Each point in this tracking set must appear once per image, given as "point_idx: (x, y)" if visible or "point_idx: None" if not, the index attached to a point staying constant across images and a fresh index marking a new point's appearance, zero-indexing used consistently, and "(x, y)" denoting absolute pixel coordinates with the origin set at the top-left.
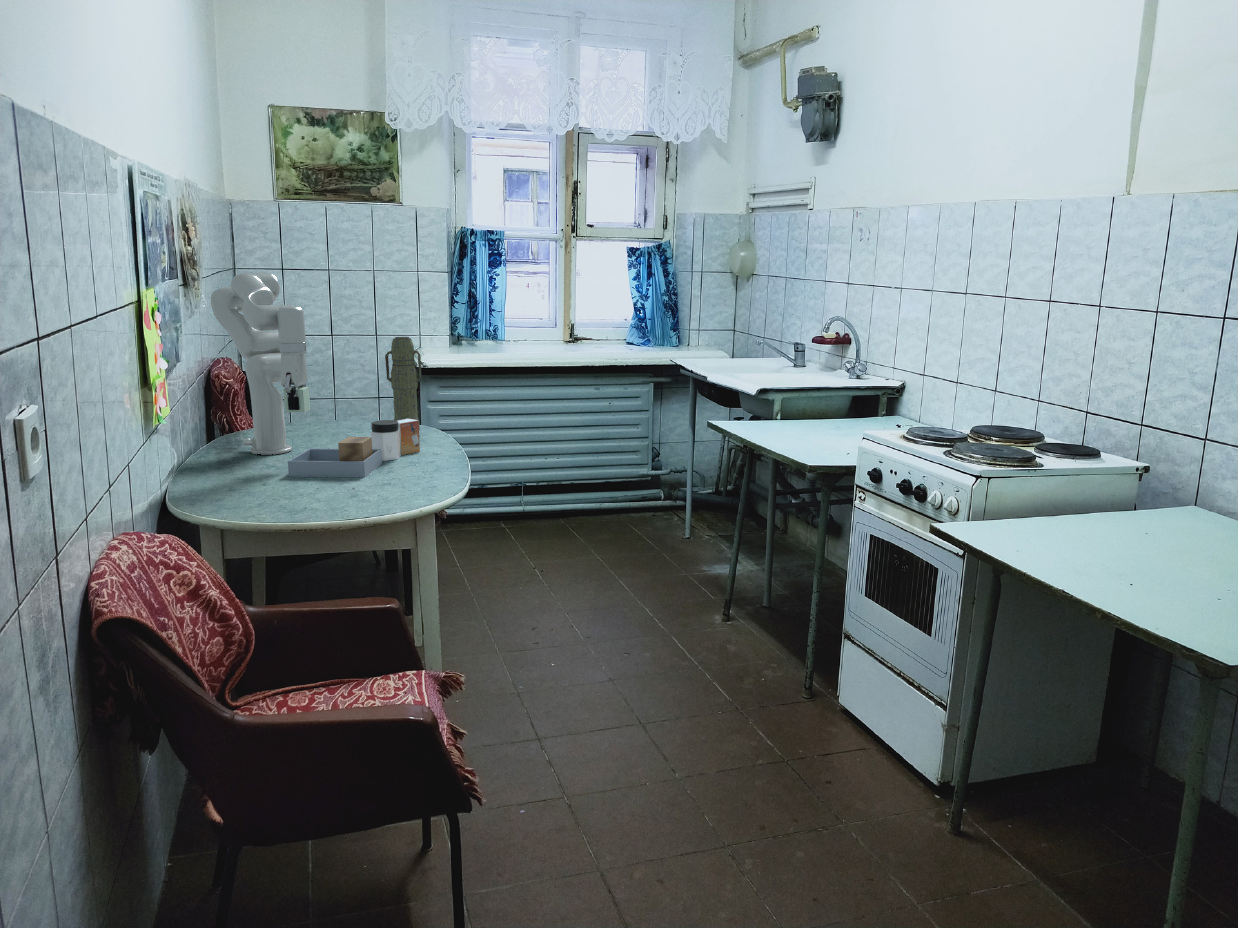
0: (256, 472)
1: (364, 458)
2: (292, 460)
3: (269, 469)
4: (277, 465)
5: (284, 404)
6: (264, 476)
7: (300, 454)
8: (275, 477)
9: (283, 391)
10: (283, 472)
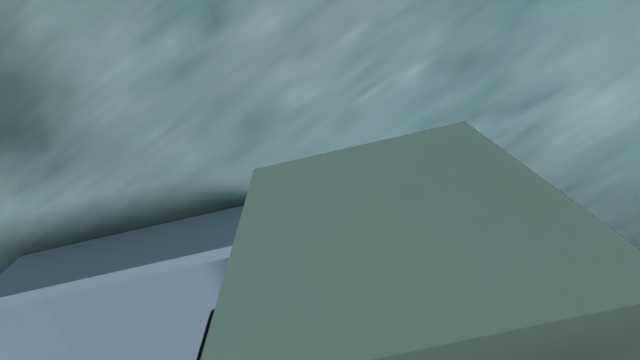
0: (56, 12)
1: None
2: (11, 303)
3: (144, 39)
4: (242, 21)
5: (244, 210)
6: (5, 114)
7: (137, 273)
8: (16, 179)
9: (206, 352)
10: (117, 153)
